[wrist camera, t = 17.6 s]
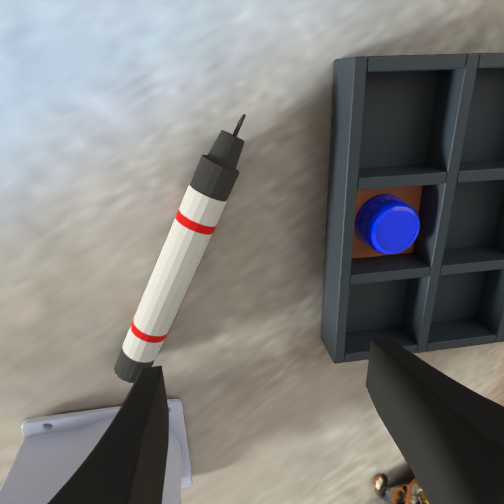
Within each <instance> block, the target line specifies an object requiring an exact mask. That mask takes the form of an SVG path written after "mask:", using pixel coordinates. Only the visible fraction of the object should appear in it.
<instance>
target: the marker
mask: <svg viewBox="0 0 504 504" xmlns="http://www.w3.org/2000/svg"><path fill="white" fill-rule="evenodd" d="M245 116H246V115H245V114H244V115H243V116H242V117H241V118H240V120H239V122H238V124H237V126H236V129H235V131H234V133H233V135H232V134H230V133H228V132H225V131H223V130H221V132H220V134H219V136H218V138H217V139H216V141H215V143H214V145H213V147H212V148H211V150H210V152H209V154H208V156H207V155H202V157H201V159H200V162H199V164H198V167H197V169H196V171H195V174H194V176H193V179H192V181H191V183H190V184H189V186H188V188H187V191H186V193H185V196H184V198H183V201H182V203H181V205H180V208H179V210H178V213H177V215H176V217H175V220H174V222H173V225H172V227H171V230H170V232H169V234H168V237H167V239H166V242H165V244H164V246H163V249H162V251H161V254H160V256H159V259H158V261H157V263H156V266H155V268H154V271H153V273H152V275H151V278H150V280H149V283H148V285H147V288H146V290H145V292H144V295H143V297H142V300H141V302H140V304H139V307H138V309H137V312H136V314H135V317H134V319H133V321H132V324H131V326H130V329H129V331H128V333H127V336H126V338H125V341H124V343H123V347H122V350H121V352H120V355H119V357H118V360H117V362H116V364H115V368H114V369H115V373H116V374H117V375H118V377H119V378H121V379H122V380H124V381H127V382H130V383H134V382H135V380H136V378H137V376H138V374H139V371H140V370H141V369H142V368H148V367H152V365H153V363H154V360H155V359H156V357H157V356H158V353H159V351H160V349H161V347H162V345H163V342H164V340H165V338H166V336H167V334H168V331H169V329H170V327H171V325H172V322H173V320H174V318H175V316H176V314H177V311H178V309H179V307H180V305H181V303H182V300H183V298H184V296H185V294H186V292H187V289H188V287H189V285H190V283H191V280H192V278H193V276H194V274H195V272H196V269H197V267H198V265H199V263H200V261H201V258H202V256H203V254H204V252H205V250H206V247H207V245H208V243H209V241H210V238H211V236H212V234H213V232H214V230H215V227H216V225H217V223H218V221H219V219H220V216H221V214H222V212H223V210H224V208H225V205H226V203H227V199H228V197H229V194H230V192H231V190H232V188H233V186H234V183H235V181H236V179H237V177H238V174H239V171H238V170H237V169H236V166H237V163H238V160H239V157H240V154H241V151H242V148H243V144H244V140H242V139H240V138H238V137H237V134H238V132H239V130H240V128H241V125H242V123H243V121H244V118H245Z"/></svg>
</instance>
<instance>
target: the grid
mask: <svg viewBox="0 0 504 504" xmlns="http://www.w3.org/2000/svg"><path fill="white" fill-rule="evenodd" d="M380 194H392V195H395V196H397V197H399V198H400V199H402V200H403V201H404V202H405V203H406V204H408V205H410V206H411V207H412V208H414V210H415V211H416V212H417V214H418V217H419V222H420V229H419V233H418V236H417V237H416V239H415V241H414V242H413V243H412V244H411V246H410V247H408V248H407V249H405V250H404V251H402V252H399V253H396V254H382V253H379V252H377V251H376V250H374V249H373V248H372V247H371V246H369V245H367V244H366V243H364V242H363V241H362V240H361V239H360V238H359V237H358V235H357V233H356V229H355V220H356V216H357V214H358V212H359V210H360V208H361V207H362V206H363V204H364V203H365V202H366V201H368V200H369V199H370V198H372V197H374V196H377V195H380ZM381 338H389V339H391V340H392V341H394V342H396V343H397V344H399V345H400V346H402V347H403V348H405V349H406V350H408V351H409V352H411V353H416V352H417V353H420V352H425V351H435V350H443V349H450V348H458V347H466V346H473V345H481V344H488V343H494V342H503V341H504V53H472V54H435V55H398V56H368V57H366V56H362V57H350V58H343V59H336V60H335V61H334V79H333V99H332V120H331V141H330V161H329V182H328V202H327V223H326V244H325V264H324V285H323V305H322V326H321V339H322V341H323V343H324V345H325V347H326V349H327V351H328V353H329V354H330V356H331V358H332V360H333V362H334V363H343V362H351V361H358V360H366V359H369V354H370V345H371V340H373V339H381Z"/></svg>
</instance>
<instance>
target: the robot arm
mask: <svg viewBox="0 0 504 504" xmlns="http://www.w3.org/2000/svg"><path fill="white" fill-rule="evenodd" d="M366 387H367V389H368V391H369V394H370V396H371V399H372V401H373V403H374V406H375V408H376V410H377V412H378V414H379V416H380V417H381V419H382V421H383V423H384V424H385V426H386V428H387V429H388V431H389V433H390V435H391V436H392V438H393V440H394V441H395V443H396V445H397V446H398V448H399V450H400V451H401V453H402V455H403V456H404V458H405V460H406V461H407V463H408V465H409V466H410V468H411V470H412V471H413V473H414V475H415V477H416V479H417V481H418V482H419V484H420V486H421V488H422V490H423V492H424V495H425V497H426V499H427V501H428V503H429V504H504V407H503V406H501V405H499V404H497V403H495V402H493V401H491V400H489V399H487V398H485V397H483V396H481V395H479V394H478V393H476V392H474V391H472V390H470V389H469V388H467V387H465V386H463V385H462V384H460V383H458V382H456V381H455V380H453V379H451V378H450V377H448V376H446V375H445V374H443V373H441V372H440V371H438V370H437V369H435V368H434V367H432V366H430V365H429V364H427V363H426V362H424V361H423V360H421V359H420V358H418V357H417V356H415V355H414V354H412V353H411V352H409V351H408V350H406V349H405V348H403V347H402V346H400V345H399V344H397V343H396V342H394V341H392V340H391V339H389V338H381V339H373V340H371V345H370V354H369V363H368V372H367V381H366ZM168 407H169V408H168ZM46 423H50V424H51V425H50V424H46ZM21 429H22V432H23V435H24V439H23V441H22V443H21V445H20V448H19V450H18V452H17V454H16V456H15V459H14V461H13V463H12V465H11V467H10V470H9V472H8V474H7V476H6V478H5V481H4V483H3V485H2V487H1V489H0V504H181V490H182V489H187V488H189V487H191V485H192V473H191V465H190V458H189V451H188V443H187V436H186V428H185V421H184V414H183V406H182V402H181V401H180V400H178V399H168V400H167V398H166V391H165V385H164V378H163V372H162V366H156V367H148V368H142V369H141V370H140V371H139V374H138V376H137V378H136V380H135V382H134V384H133V386H132V388H131V390H130V392H129V393H128V395H127V397H126V399H125V401H124V402H123V404H122V406H116V407H109V408H101V409H94V410H87V411H79V412H72V413H65V414H57V415H50V416H42V417H35V418H29V419H26V420H25V421H24V423H23V425H22V427H21Z"/></svg>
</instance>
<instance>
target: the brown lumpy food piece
mask: <svg viewBox="0 0 504 504" xmlns="http://www.w3.org/2000/svg"><path fill="white" fill-rule="evenodd" d="M373 483H374V485H375V487H376V490H375V492H376V494H377V495H378V496H379V497H380V498H381V499H383V500H385V501H387V502H389V503H390V504H429V503H428V501H427V499H426V497H425V495H424V492H423V490H422V488H421V486H420V484H419V482H418V481H417V479H416V478H415V479H413V481H412V482H411V484H409V485H403V486H401V487H400V488H398V487H397V488H396V489H395V490H394V491H393V492H392V491H391V490H390V489H389V488H388V487H387V483H388V479H387V477H386V475H384V474H383V473H382V474H379V475H377V476H376V477H375V478H374V480H373Z"/></svg>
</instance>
